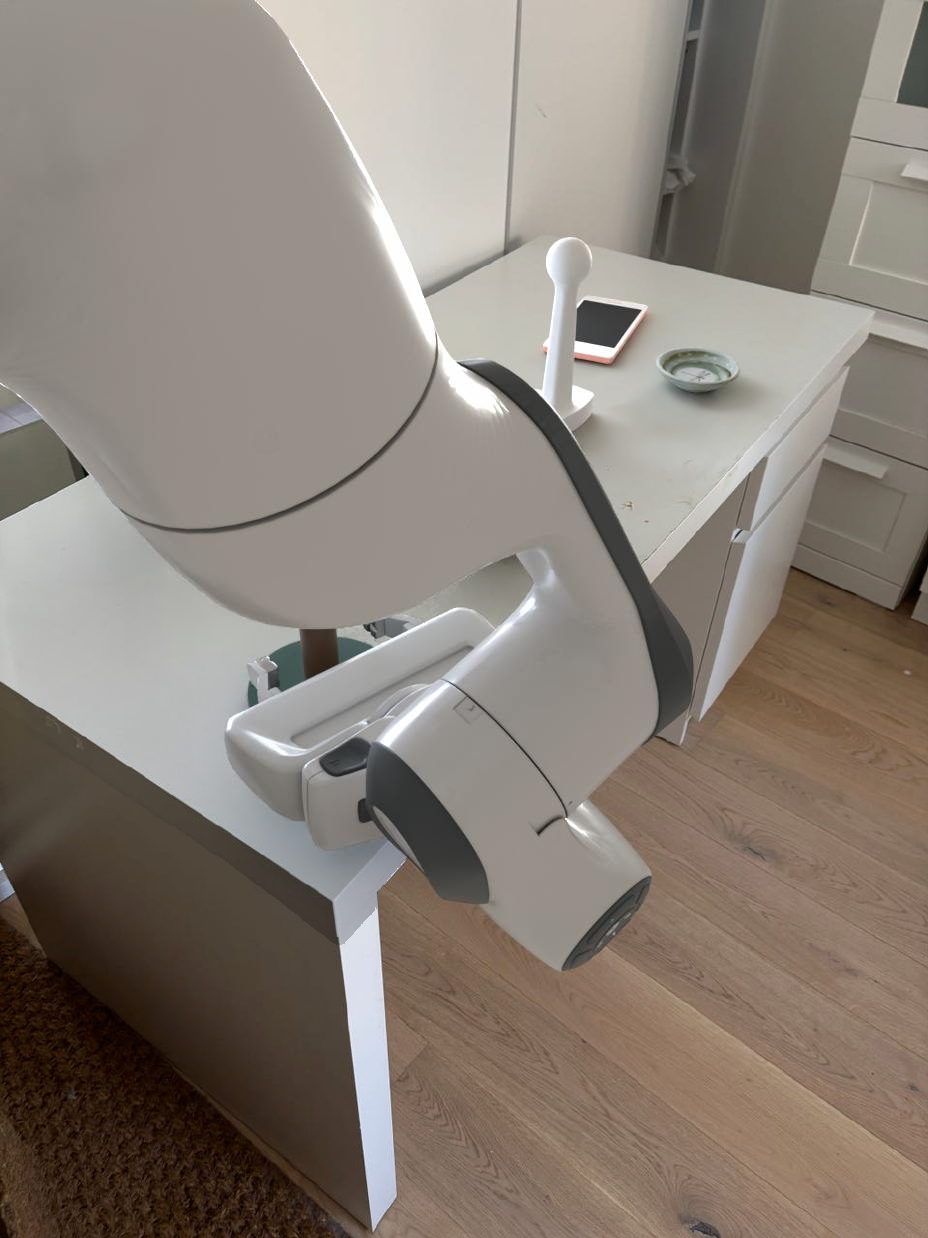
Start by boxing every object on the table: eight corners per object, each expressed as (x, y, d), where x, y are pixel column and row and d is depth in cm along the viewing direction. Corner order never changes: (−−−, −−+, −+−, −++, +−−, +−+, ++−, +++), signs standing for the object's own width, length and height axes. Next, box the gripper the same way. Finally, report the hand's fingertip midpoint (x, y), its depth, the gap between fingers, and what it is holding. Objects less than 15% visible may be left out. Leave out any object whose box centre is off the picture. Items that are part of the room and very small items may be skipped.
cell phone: (541, 351, 119) (542, 344, 119) (584, 300, 132) (585, 293, 131) (611, 365, 117) (611, 357, 116) (648, 311, 130) (649, 304, 129)
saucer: (666, 358, 119) (669, 339, 117) (744, 375, 116) (748, 356, 114) (642, 390, 112) (645, 371, 110) (725, 409, 109) (729, 389, 107)
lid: (274, 772, 67) (259, 680, 61) (231, 671, 74) (214, 581, 69) (423, 723, 70) (422, 633, 65) (367, 632, 78) (362, 544, 73)
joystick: (538, 451, 101) (554, 258, 88) (483, 426, 105) (491, 238, 92) (600, 414, 107) (623, 230, 94) (547, 392, 111) (562, 212, 98)
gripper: (557, 650, 64) (430, 552, 72) (290, 798, 54) (177, 665, 62) (549, 716, 68) (430, 617, 76) (299, 866, 58) (193, 732, 66)
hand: (315, 639), depth 69 cm, fingers open, 8 cm apart
